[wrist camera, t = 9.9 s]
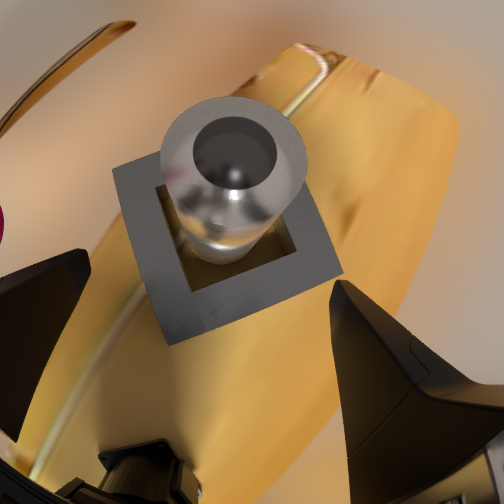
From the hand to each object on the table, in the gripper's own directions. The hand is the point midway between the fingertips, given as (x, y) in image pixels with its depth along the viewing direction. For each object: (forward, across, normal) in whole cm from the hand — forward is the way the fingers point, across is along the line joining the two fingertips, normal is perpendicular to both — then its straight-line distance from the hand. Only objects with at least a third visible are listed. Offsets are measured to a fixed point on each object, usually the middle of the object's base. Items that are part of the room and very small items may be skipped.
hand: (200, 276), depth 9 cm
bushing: (+10, +1, +3) cm, 11 cm away
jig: (+10, +1, +3) cm, 11 cm away
